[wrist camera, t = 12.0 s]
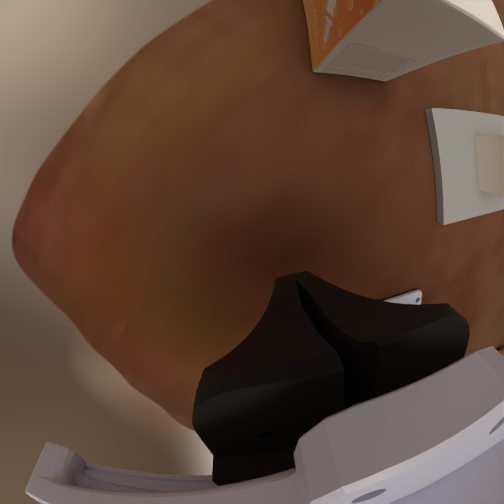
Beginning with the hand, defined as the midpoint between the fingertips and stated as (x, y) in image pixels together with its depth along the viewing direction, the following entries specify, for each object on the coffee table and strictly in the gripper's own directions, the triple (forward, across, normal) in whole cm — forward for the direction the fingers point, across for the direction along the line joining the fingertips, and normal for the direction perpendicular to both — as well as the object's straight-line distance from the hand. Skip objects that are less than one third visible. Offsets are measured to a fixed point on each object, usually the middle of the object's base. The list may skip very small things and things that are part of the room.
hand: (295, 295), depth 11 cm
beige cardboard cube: (+8, -23, -3) cm, 25 cm away
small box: (+10, -9, -15) cm, 20 cm away
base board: (+9, -23, -3) cm, 25 cm away
